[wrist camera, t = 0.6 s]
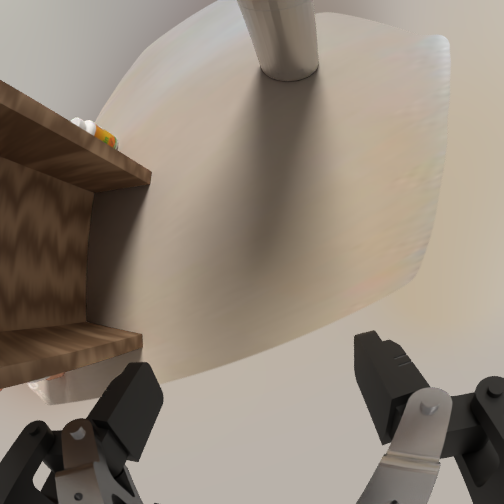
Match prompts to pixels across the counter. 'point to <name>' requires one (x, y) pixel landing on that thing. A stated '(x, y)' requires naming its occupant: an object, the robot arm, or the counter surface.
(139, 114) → the counter surface
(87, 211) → the walnut shelf
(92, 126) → the supplement bottle
